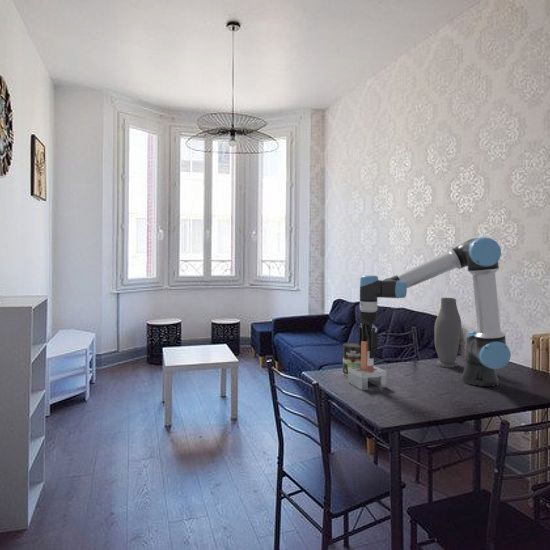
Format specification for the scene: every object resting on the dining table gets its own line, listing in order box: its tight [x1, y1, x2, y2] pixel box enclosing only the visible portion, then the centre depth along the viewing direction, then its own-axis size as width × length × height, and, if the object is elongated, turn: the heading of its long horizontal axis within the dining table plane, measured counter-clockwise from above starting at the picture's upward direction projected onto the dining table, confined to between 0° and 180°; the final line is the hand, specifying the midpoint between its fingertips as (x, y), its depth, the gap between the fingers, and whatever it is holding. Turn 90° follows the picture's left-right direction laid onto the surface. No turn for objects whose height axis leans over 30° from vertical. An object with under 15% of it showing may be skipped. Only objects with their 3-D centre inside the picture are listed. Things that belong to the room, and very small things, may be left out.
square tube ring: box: [347, 365, 388, 391], centre depth 193 cm, size 12×12×7 cm
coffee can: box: [342, 342, 361, 377], centre depth 210 cm, size 10×10×14 cm
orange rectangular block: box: [361, 340, 375, 371], centre depth 192 cm, size 4×4×12 cm
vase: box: [433, 297, 462, 368], centre depth 227 cm, size 13×13×35 cm
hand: (367, 364), depth 192 cm, fingers open, 4 cm apart
